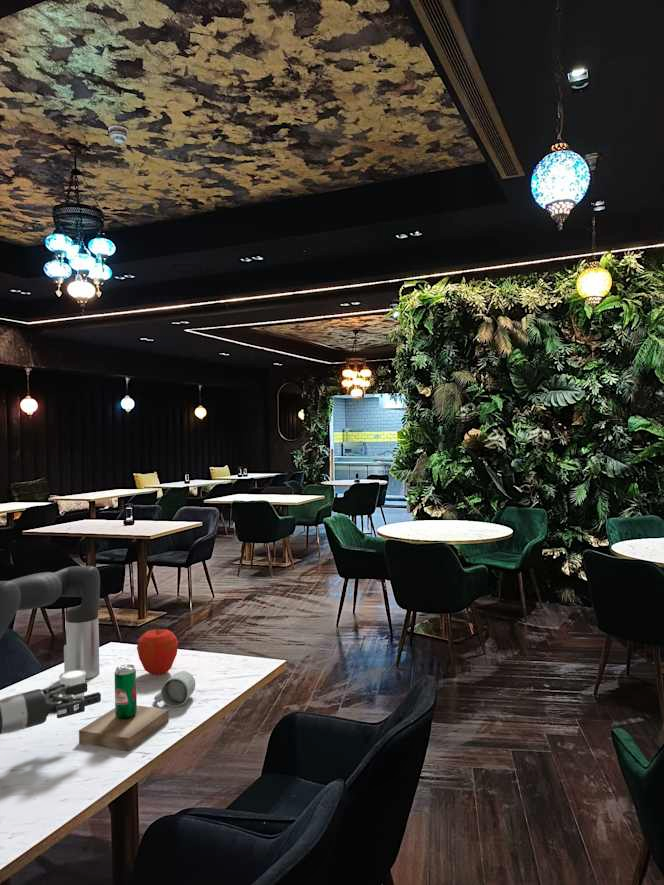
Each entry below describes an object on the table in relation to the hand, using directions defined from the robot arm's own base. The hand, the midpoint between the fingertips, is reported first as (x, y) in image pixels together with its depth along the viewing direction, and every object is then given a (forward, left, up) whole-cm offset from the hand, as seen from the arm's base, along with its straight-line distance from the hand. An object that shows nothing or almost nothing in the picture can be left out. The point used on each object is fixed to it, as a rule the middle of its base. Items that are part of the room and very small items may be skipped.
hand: (93, 691), depth 151 cm
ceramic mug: (+6, +24, -12) cm, 28 cm away
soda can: (+4, +7, -8) cm, 12 cm away
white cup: (-22, +18, -11) cm, 31 cm away
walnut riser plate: (+5, +5, -11) cm, 13 cm away
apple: (-10, +41, -11) cm, 44 cm away
